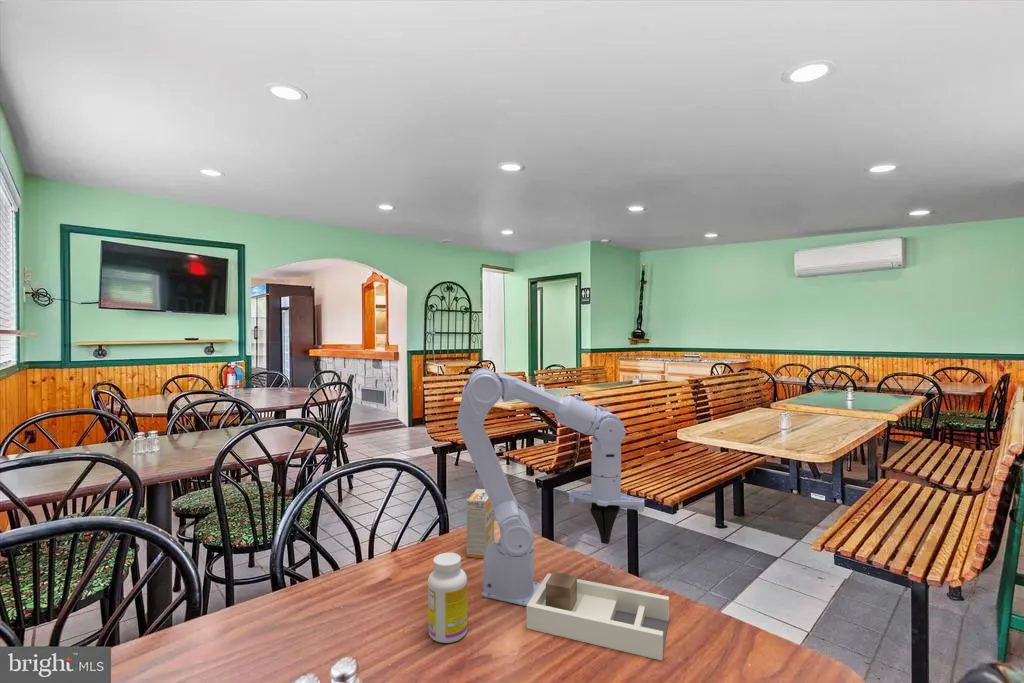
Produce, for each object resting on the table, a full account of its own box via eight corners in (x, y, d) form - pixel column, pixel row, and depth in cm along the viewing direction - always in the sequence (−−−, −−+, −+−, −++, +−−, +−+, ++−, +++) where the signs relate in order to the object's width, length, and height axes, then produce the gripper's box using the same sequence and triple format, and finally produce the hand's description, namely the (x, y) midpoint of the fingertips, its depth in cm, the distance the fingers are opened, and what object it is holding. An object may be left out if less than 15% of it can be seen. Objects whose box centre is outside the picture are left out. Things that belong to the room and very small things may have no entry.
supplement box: (486, 559, 113) (486, 501, 112) (465, 557, 114) (465, 499, 113) (495, 543, 121) (495, 489, 120) (475, 541, 122) (475, 487, 121)
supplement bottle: (473, 625, 88) (473, 553, 88) (457, 648, 82) (457, 570, 82) (439, 618, 91) (438, 547, 90) (421, 640, 84) (420, 564, 84)
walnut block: (545, 608, 90) (545, 583, 90) (553, 595, 94) (553, 571, 94) (570, 613, 88) (570, 588, 88) (576, 600, 92) (576, 576, 92)
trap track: (526, 628, 87) (526, 605, 87) (547, 593, 99) (547, 573, 98) (662, 660, 79) (662, 635, 79) (668, 618, 90) (668, 596, 90)
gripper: (564, 475, 98) (564, 543, 99) (641, 483, 93) (640, 556, 94) (574, 465, 105) (573, 530, 106) (646, 473, 100) (645, 541, 100)
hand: (605, 541), depth 100 cm, fingers closed
